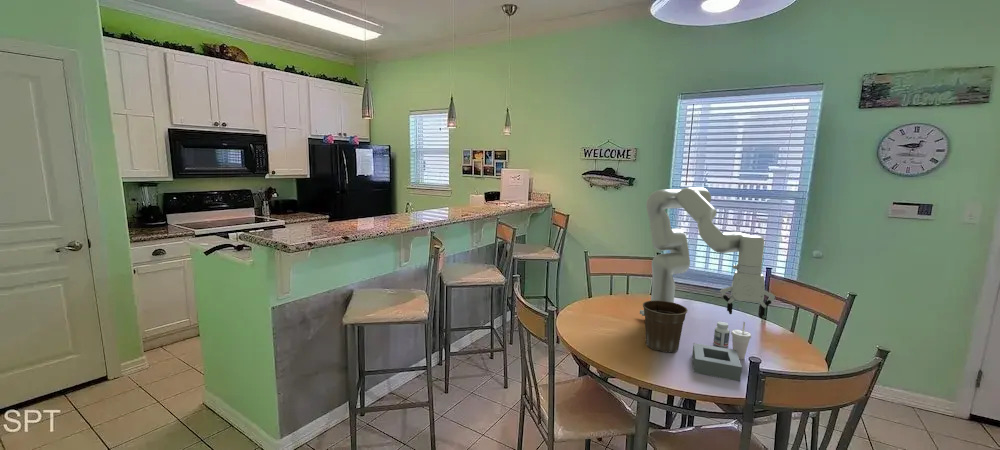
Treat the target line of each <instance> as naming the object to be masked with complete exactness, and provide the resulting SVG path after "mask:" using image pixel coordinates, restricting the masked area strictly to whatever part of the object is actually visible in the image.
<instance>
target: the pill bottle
mask: <svg viewBox="0 0 1000 450" xmlns="http://www.w3.org/2000/svg"><path fill="white" fill-rule="evenodd" d="M729 341H730V329H729V323H728V322H724V321H717V323H716V326H715V328H714V334H713V344H714V345H715V346H716V347H720V348H727V347H729V344H730V343H729Z"/></svg>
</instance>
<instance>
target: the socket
mask: <svg viewBox="0 0 1000 450" xmlns="http://www.w3.org/2000/svg"><path fill="white" fill-rule="evenodd" d="M691 356H692V364H693V365H692V366H693V373H695V374H701V375H706V376H711V377H716V378H722V379H725V380H732V381H736V380H738V381H737V382H741V379H742V378H741V377H742V372H743V371H742V369H743V366H742V363H741V361H740V360H739V357H738V354H737V351H736V350H733V348H732V349H731V348H727V347H720V346H714V345H708V344H702V343H696V342H693V347H692V354H691Z"/></svg>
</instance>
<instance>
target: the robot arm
mask: <svg viewBox="0 0 1000 450" xmlns="http://www.w3.org/2000/svg"><path fill="white" fill-rule="evenodd" d="M711 201H712V195H711V192H710V191H709V190H708V189H706V188H705V187H701V186H699V187H698V186H696V187H694V186H693V187H684V188H681V189H679V188H678V189H675V188H674V189H669V188H668V189H667V188H665V189H657V190H655V191H653V192H651V194H649V196H648V198H647V200H646V203H645V204H646V207H645V208H646V212H647V216H648V219H649V227H650V228H649V229H650V235H651V242H652V246H653V247H654V250H655V249H656V250H657V251H669V252H667V253H660V254H657V255H655V256H654V257H653V259H652V261H651V271H652V272H651V273H652V283H651V284H652V285H651V297H650V301H654V300H658V301H668V302H673V303H675V294H676V293H675V291H676V282H675V280H674V277H673V276H674V275H678V274H684V273H687V271H689V269H690V267H691V266H690V265H691V259H690V251H689V243H688V239H687V235H686V234H685V232H684V231H683V230H682V229H679V228H672V227H671V219H670V216H669V215H668V213H667V211H665V210H666V209H667V210H668V209H683V210H684V211H685V212H686V213H687V214H688V215H689V216H690V218H692V219H693V220H694V222H696V224H697V230H698V234H699V236H700V238H701V239H702V240H703V242H704V243H705V244H706V245H707V247H709V248H710V249H712V251H714V252H715V253H718V254H727V253H738V257H737V258H738V259H737V264H733V265H732V268H733V269H735V271H734V274H733V277H732V282H731V286H728V287H724V288H721V289H720V293H721V295H722V298H723V299H724V300H725V301H726V302H727V304H726V305H727V306H726V312H728V313H729V315H732V314H733V305H734V304H733V302H734V301H741V302H749V303H750V302H751V303H759V304H760V305H758V314H757V315H758V317H759V318H760V319H763V316H765V311H766V308H767V307H768V306H769V305H771V304H772V302H773V301H774V299H776V296H775V295H774V294H773V293H771V292H769V291H767V290H765V285H766V284H765V276H764V274H763V273H762V268H763V259H764V249H765V238H763V237H762V236H760V235H755V234H754V235H752V234H747V233H743V232H740V231H729V232H722V231H721V229H719V228H718V227H717V226H716V225H715V224H714V222H713V220H714V219H715V217H716V216H717V209H716V208H715V207H714V206H713V205H712V204H711ZM728 292H730V296H729V297H728V295H727V294H726V293H728ZM765 296H766V297H768V298H767V299H766V300H765ZM764 300H765V301H764ZM639 314H640V315H641V316H643V317H645V315H644V309H639Z"/></svg>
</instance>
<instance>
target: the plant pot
mask: <svg viewBox="0 0 1000 450" xmlns="http://www.w3.org/2000/svg"><path fill="white" fill-rule="evenodd" d="M642 307H643V310H644V315H645V316H644V324H645V325H644V326H645V327H644V331H645V333H644V334H645V345H646V347H648V348H650V349H652V350H654V351H660V352H661V353H674V352H677V351H678V350H679V348H680V342H681V336H682V331H683V325H684V323H685V319H686V314H687V313H688V308H687V307H685V306H684V305H682V304H681V303H680V304H679V303H677V302H674V303H673V302H668V301H658V300H654V301H651V300H647V301H644V302H643V303H642Z"/></svg>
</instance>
